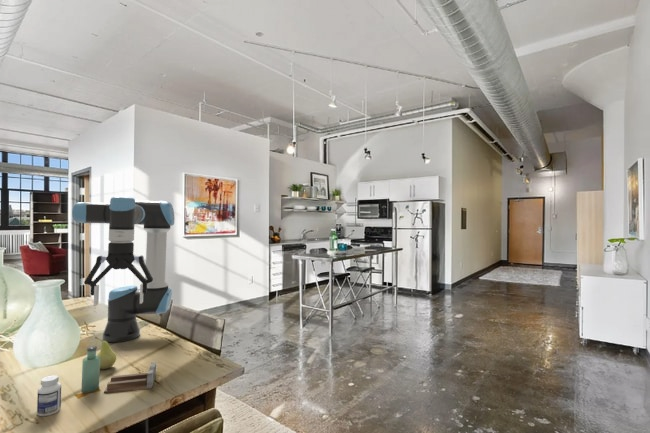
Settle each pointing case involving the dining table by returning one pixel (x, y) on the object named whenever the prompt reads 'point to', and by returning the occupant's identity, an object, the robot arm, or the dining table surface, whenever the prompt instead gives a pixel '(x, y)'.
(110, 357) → the fruit
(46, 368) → the dining table surface
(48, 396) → the pill bottle
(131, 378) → the cradle
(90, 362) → the bottle
